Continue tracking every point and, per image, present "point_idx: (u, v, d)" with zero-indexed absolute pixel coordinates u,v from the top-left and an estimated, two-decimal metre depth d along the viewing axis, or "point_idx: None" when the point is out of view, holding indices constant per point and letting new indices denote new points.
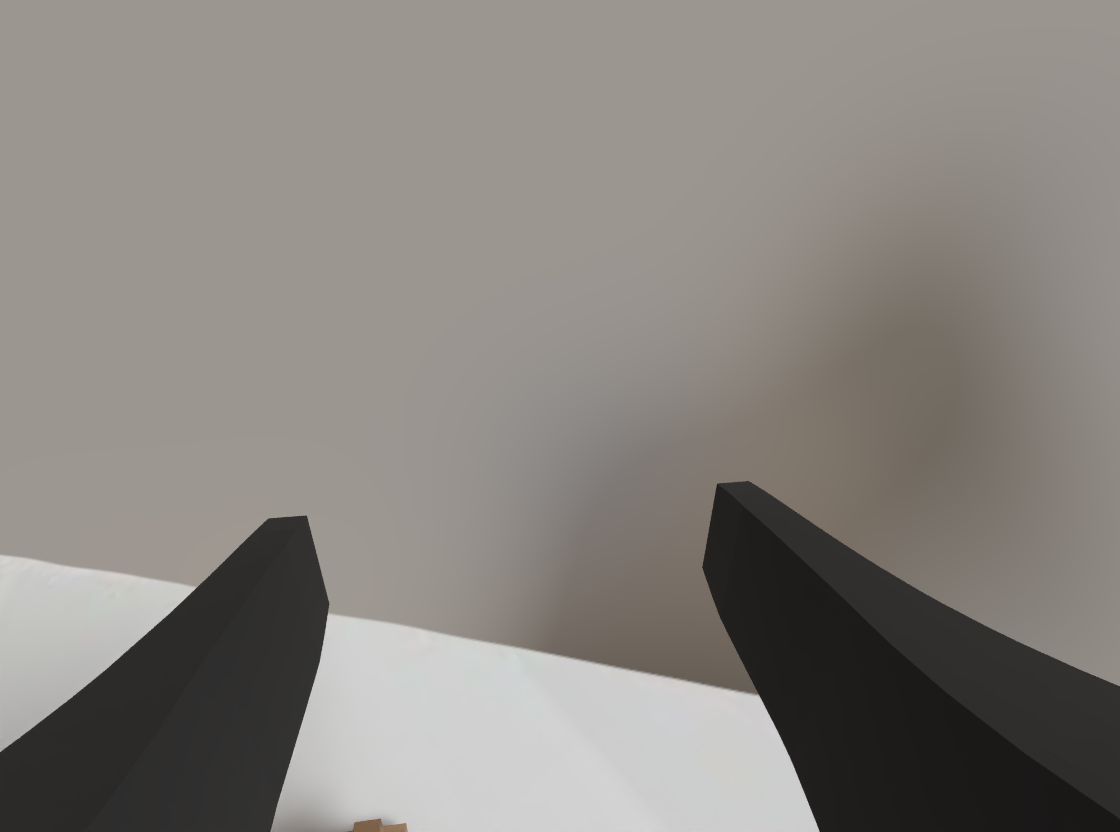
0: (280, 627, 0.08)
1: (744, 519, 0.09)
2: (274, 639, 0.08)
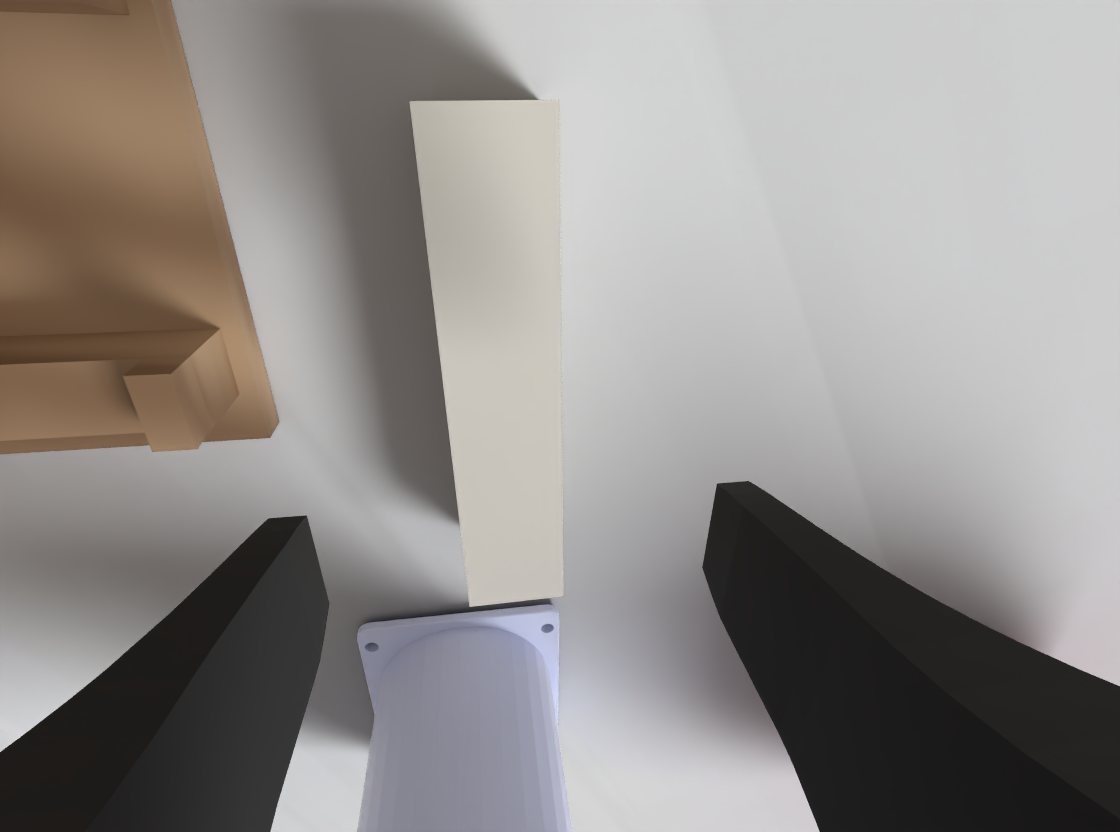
0: (280, 627, 0.08)
1: (744, 519, 0.09)
2: (274, 640, 0.08)
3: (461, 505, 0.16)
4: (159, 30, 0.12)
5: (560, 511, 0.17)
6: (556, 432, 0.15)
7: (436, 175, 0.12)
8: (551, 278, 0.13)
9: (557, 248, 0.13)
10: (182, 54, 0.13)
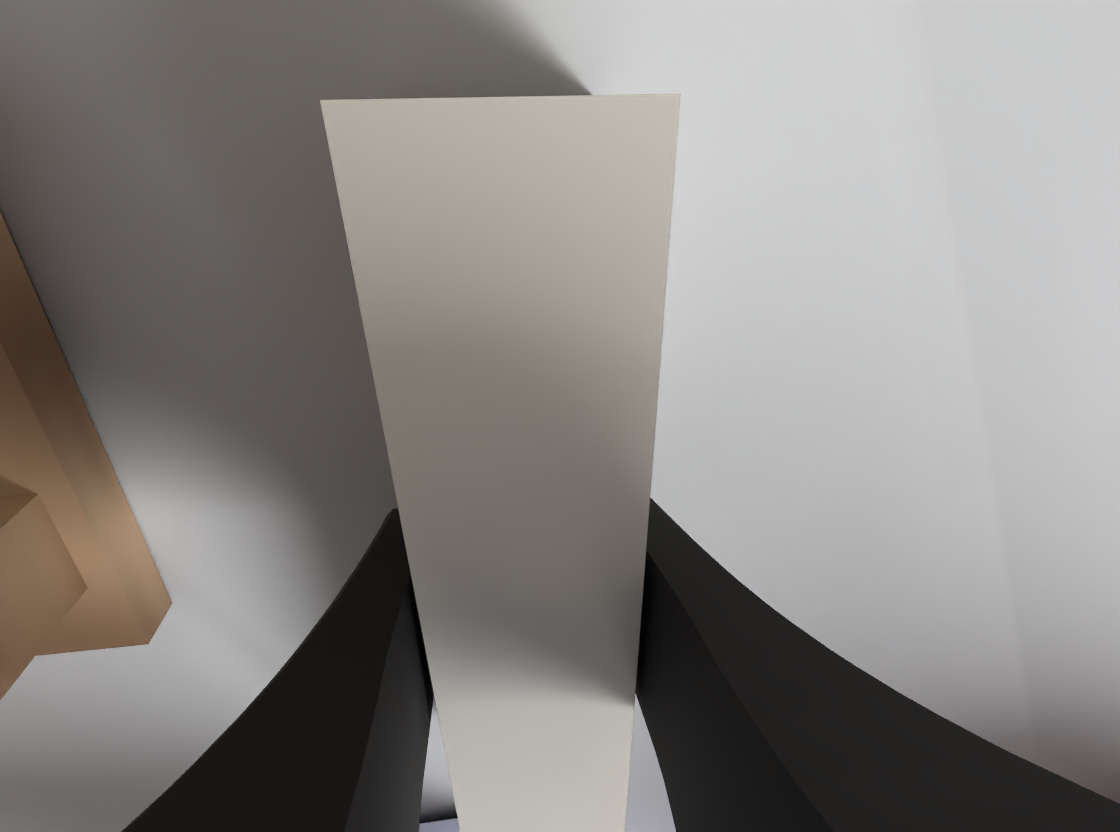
0: None
1: None
2: (420, 624, 0.08)
3: (459, 791, 0.09)
4: None
5: (624, 783, 0.10)
6: (626, 685, 0.09)
7: (393, 269, 0.05)
8: (635, 453, 0.07)
9: (650, 400, 0.06)
10: None
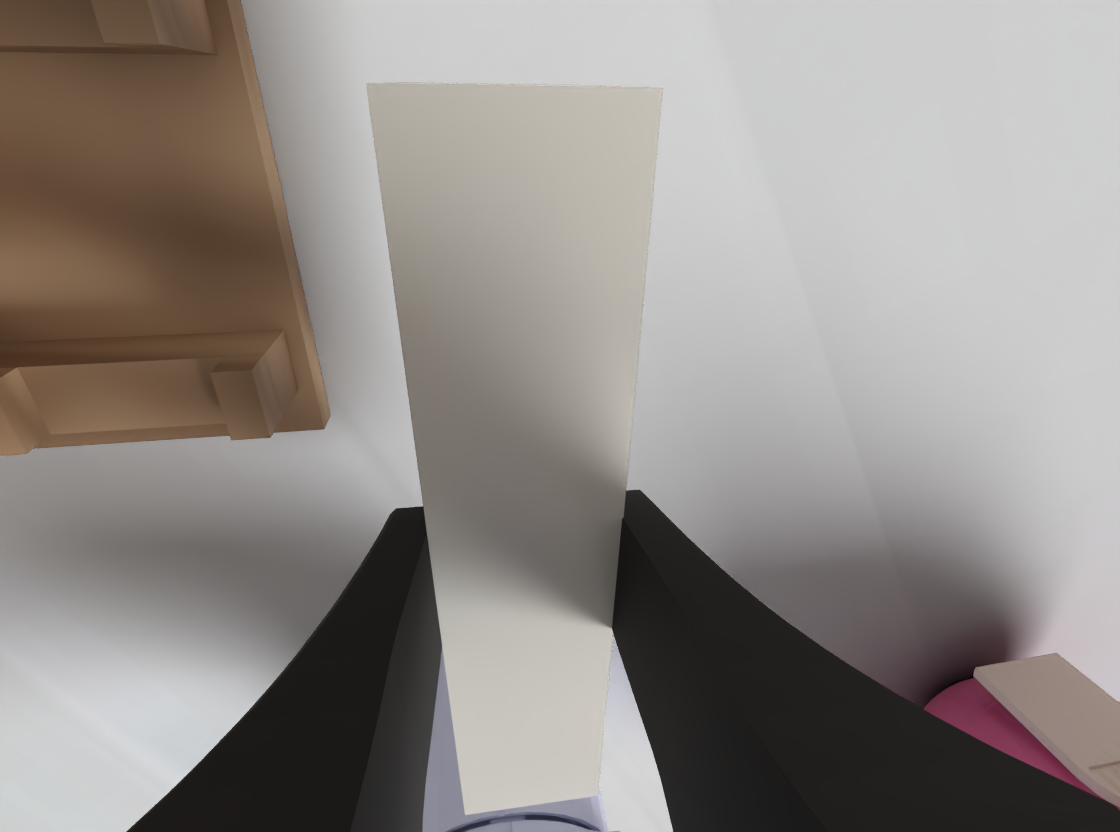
0: (425, 612, 0.08)
1: (622, 530, 0.09)
2: (422, 624, 0.08)
3: (456, 705, 0.11)
4: (242, 67, 0.14)
5: (603, 704, 0.11)
6: (606, 610, 0.10)
7: (419, 227, 0.06)
8: (618, 398, 0.08)
9: (633, 351, 0.07)
10: (257, 86, 0.15)
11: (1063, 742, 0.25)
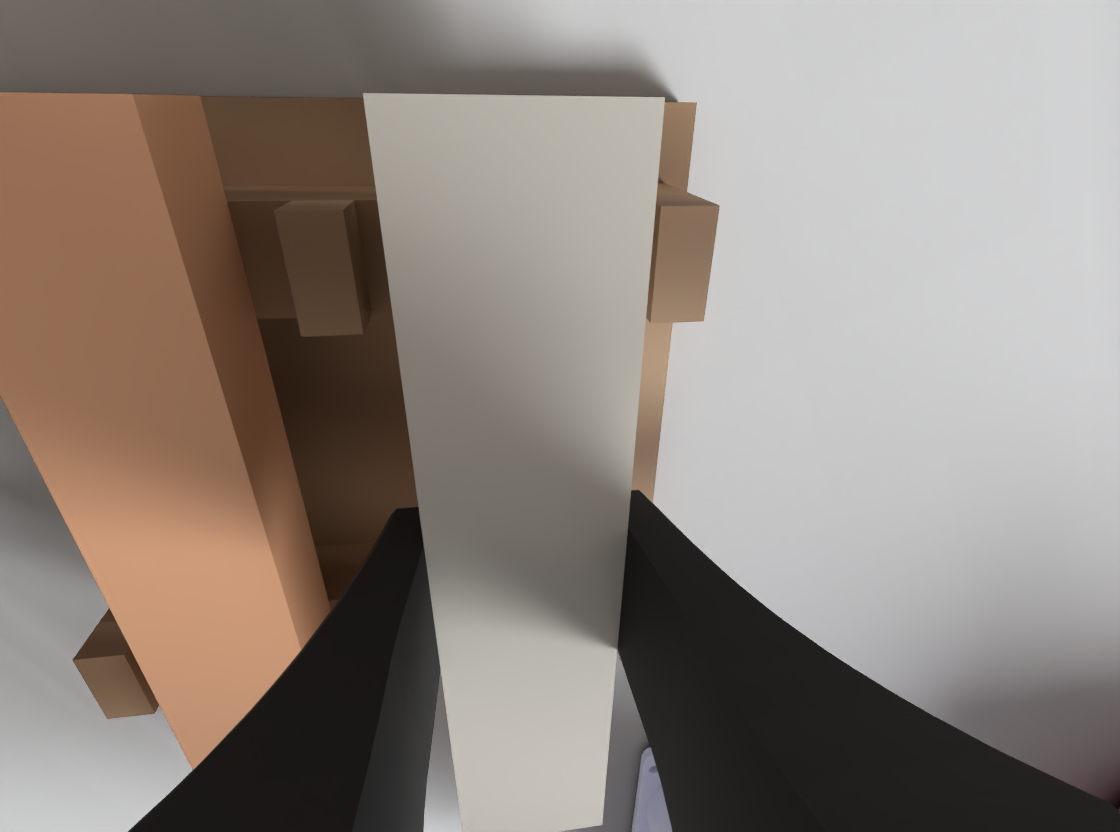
0: (426, 612, 0.08)
1: None
2: (423, 623, 0.08)
3: (455, 731, 0.10)
4: None
5: (606, 729, 0.11)
6: (610, 632, 0.10)
7: (417, 239, 0.06)
8: (621, 413, 0.08)
9: (636, 365, 0.07)
10: None
11: None
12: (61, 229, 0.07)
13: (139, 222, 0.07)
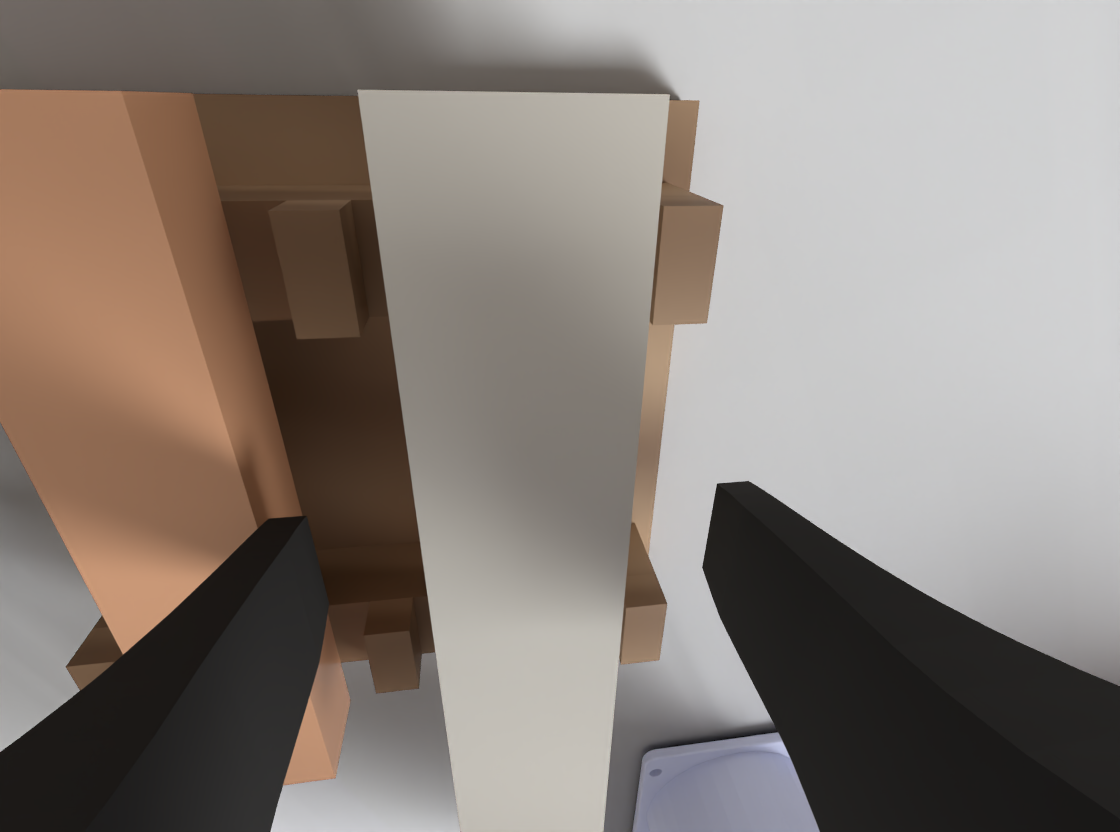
0: (280, 627, 0.08)
1: (744, 519, 0.09)
2: (273, 639, 0.08)
3: (453, 740, 0.10)
4: None
5: (608, 738, 0.11)
6: (611, 640, 0.09)
7: (414, 240, 0.06)
8: (624, 418, 0.07)
9: (639, 369, 0.07)
10: None
11: None
12: (49, 230, 0.07)
13: (129, 223, 0.07)
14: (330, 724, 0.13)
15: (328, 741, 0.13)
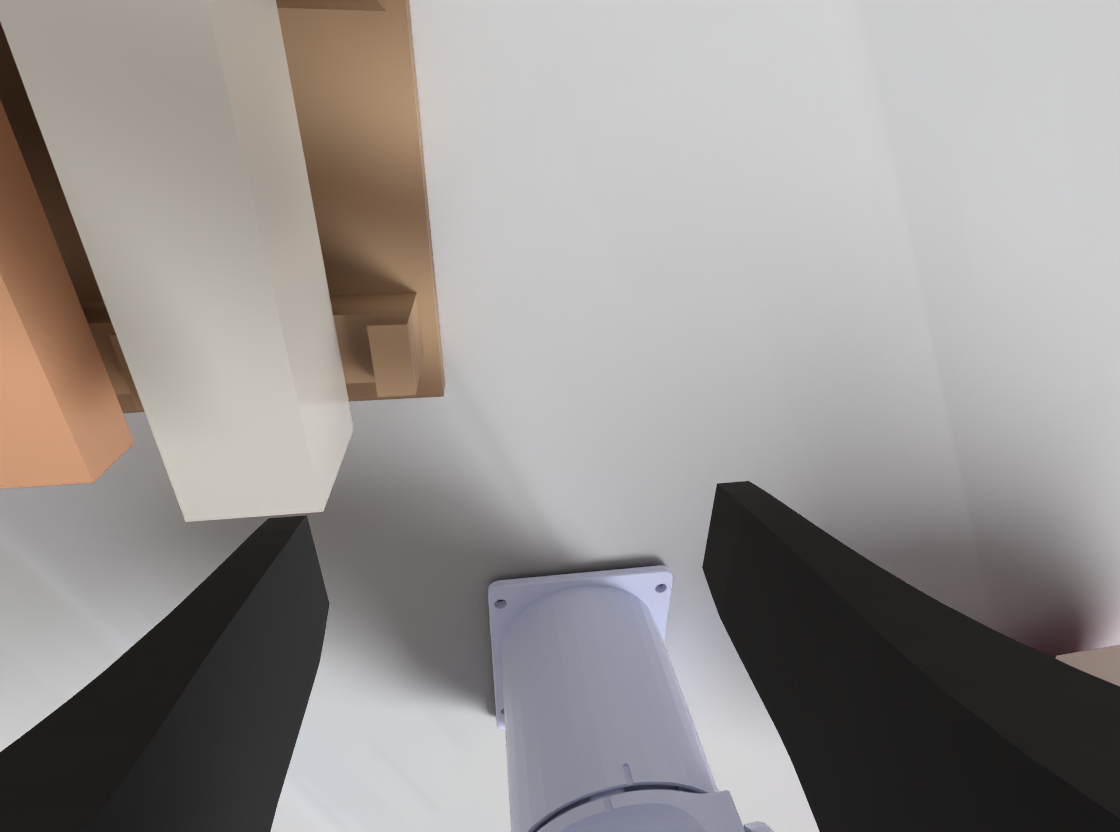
0: (280, 627, 0.08)
1: (744, 519, 0.09)
2: (274, 640, 0.08)
3: (130, 357, 0.11)
4: (407, 24, 0.14)
5: (288, 376, 0.12)
6: (252, 241, 0.10)
7: None
8: None
9: None
10: (412, 46, 0.15)
11: None
12: None
13: None
14: (87, 429, 0.14)
15: (80, 440, 0.14)
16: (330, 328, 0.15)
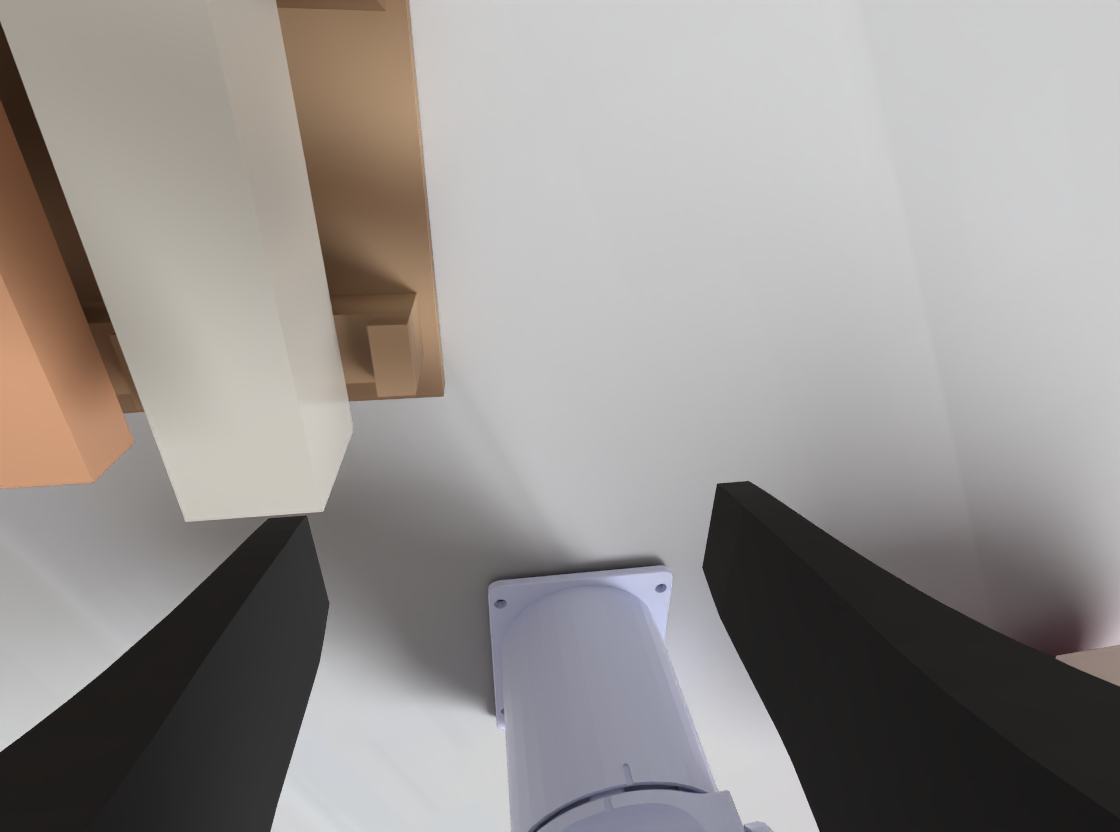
0: (280, 627, 0.08)
1: (744, 519, 0.09)
2: (274, 640, 0.08)
3: (130, 357, 0.11)
4: (407, 24, 0.14)
5: (288, 376, 0.12)
6: (252, 241, 0.10)
7: None
8: None
9: None
10: (412, 46, 0.15)
11: None
12: None
13: None
14: (87, 429, 0.14)
15: (80, 440, 0.14)
16: (330, 328, 0.15)
